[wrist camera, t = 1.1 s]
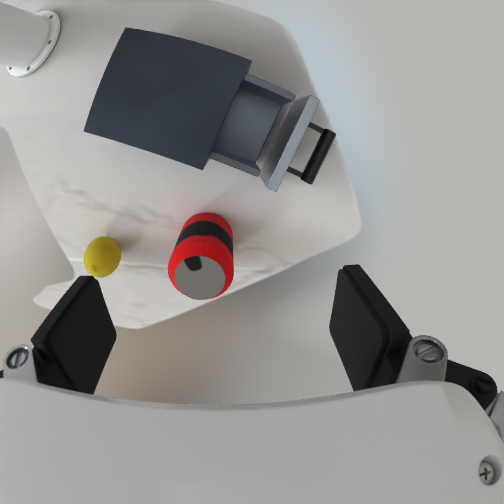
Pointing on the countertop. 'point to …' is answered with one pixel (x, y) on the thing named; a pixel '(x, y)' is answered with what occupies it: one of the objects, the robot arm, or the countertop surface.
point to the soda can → (203, 257)
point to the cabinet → (166, 95)
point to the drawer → (258, 127)
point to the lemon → (102, 256)
